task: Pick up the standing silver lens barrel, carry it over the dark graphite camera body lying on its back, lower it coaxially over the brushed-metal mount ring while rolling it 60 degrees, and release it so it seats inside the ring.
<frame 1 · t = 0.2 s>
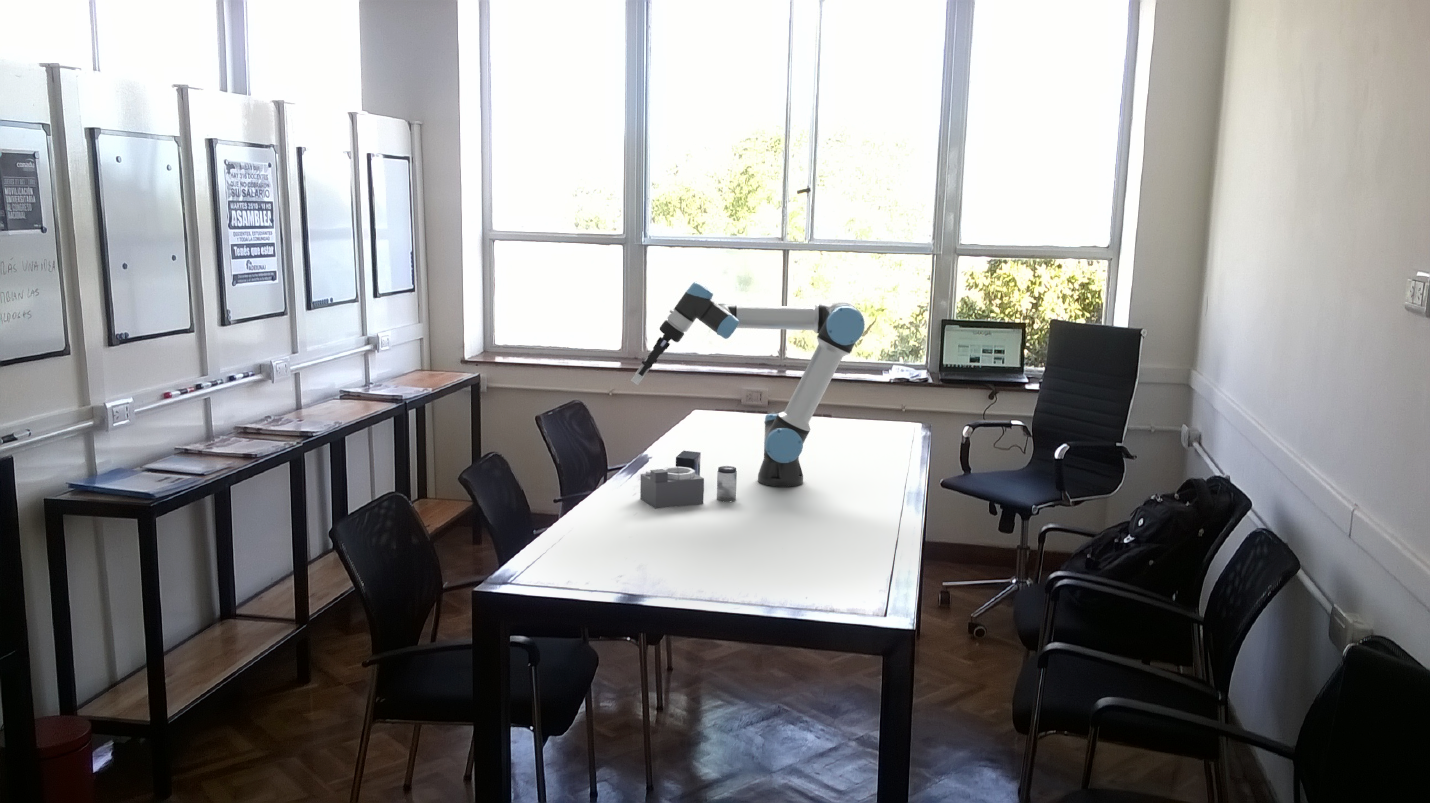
hand: (636, 379, 349), 35 cm above the table, tool tilted 35°, fingers open, 13 cm apart
camera body: (671, 501, 340), on the table
lens: (726, 499, 344), on the table
small box: (687, 485, 360), on the table
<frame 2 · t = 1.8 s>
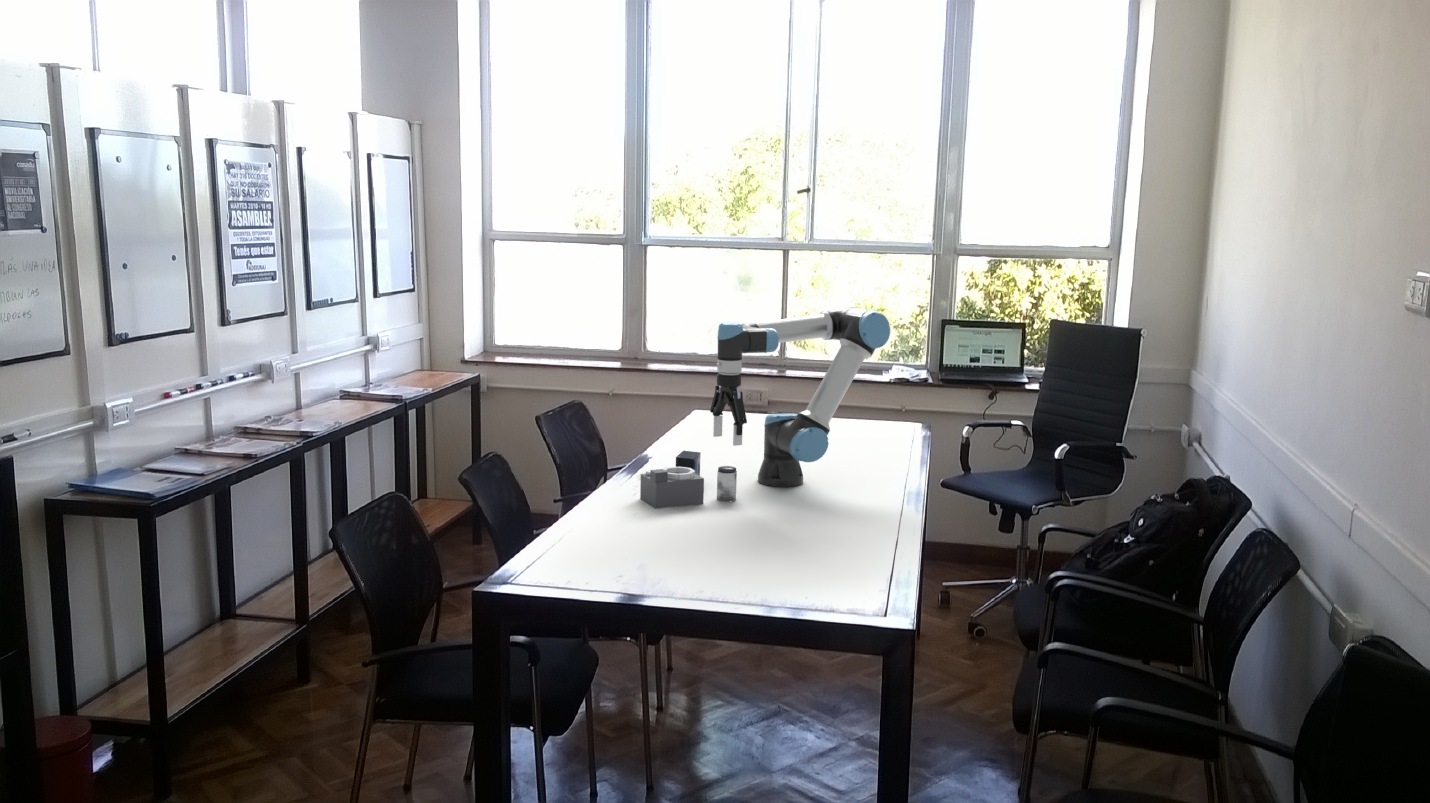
hand: (727, 440, 341), 19 cm above the table, tool pointing down, fingers open, 13 cm apart
nothing on the table moved.
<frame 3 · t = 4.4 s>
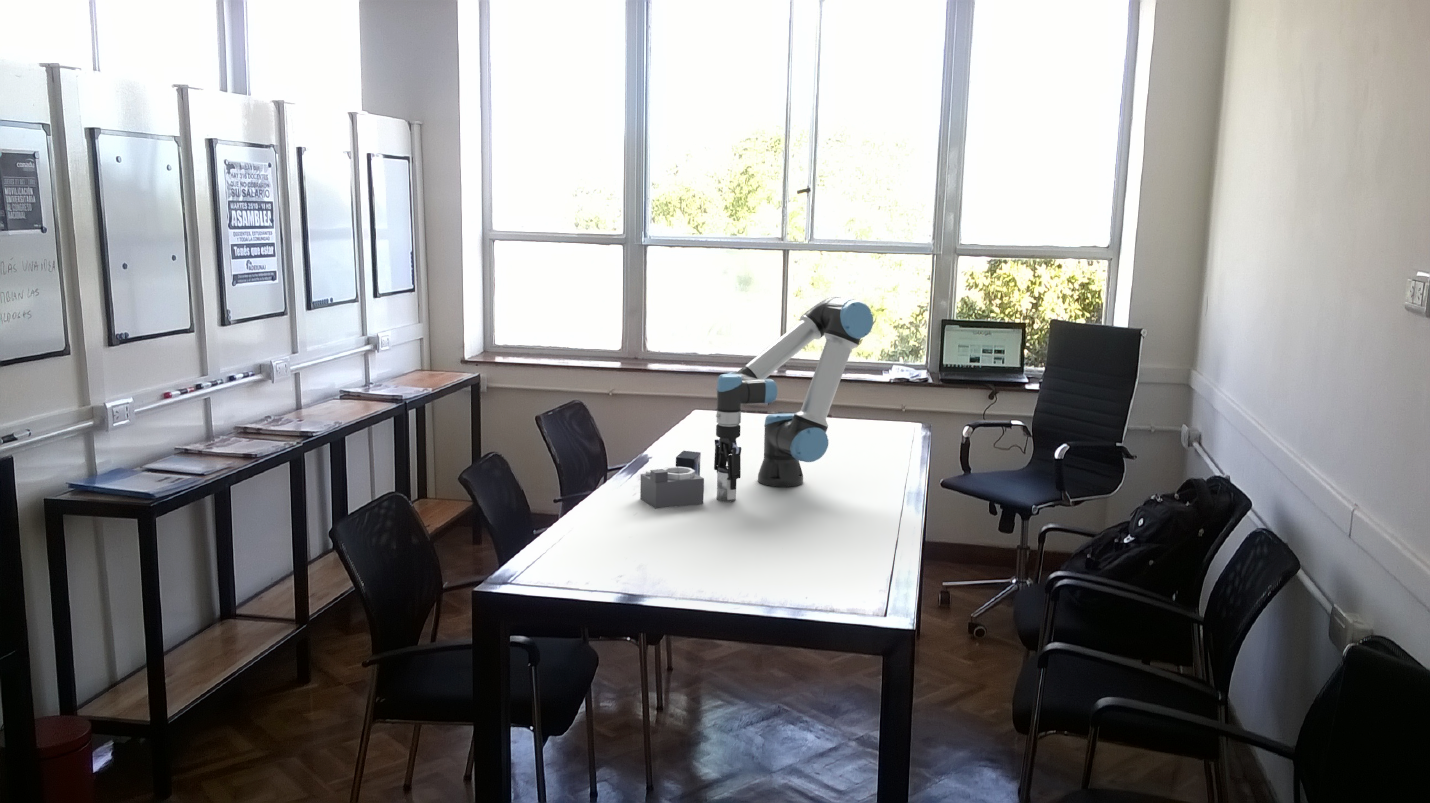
hand: (726, 496, 344), 1 cm above the table, tool pointing down, fingers closed on lens, 6 cm apart
lens: (726, 499, 344), on the table, touching gripper
everything else where it was.
when the fingers open (11 cm above the table, at t = 9.1 s): lens drops 2 cm, resting on camera body.
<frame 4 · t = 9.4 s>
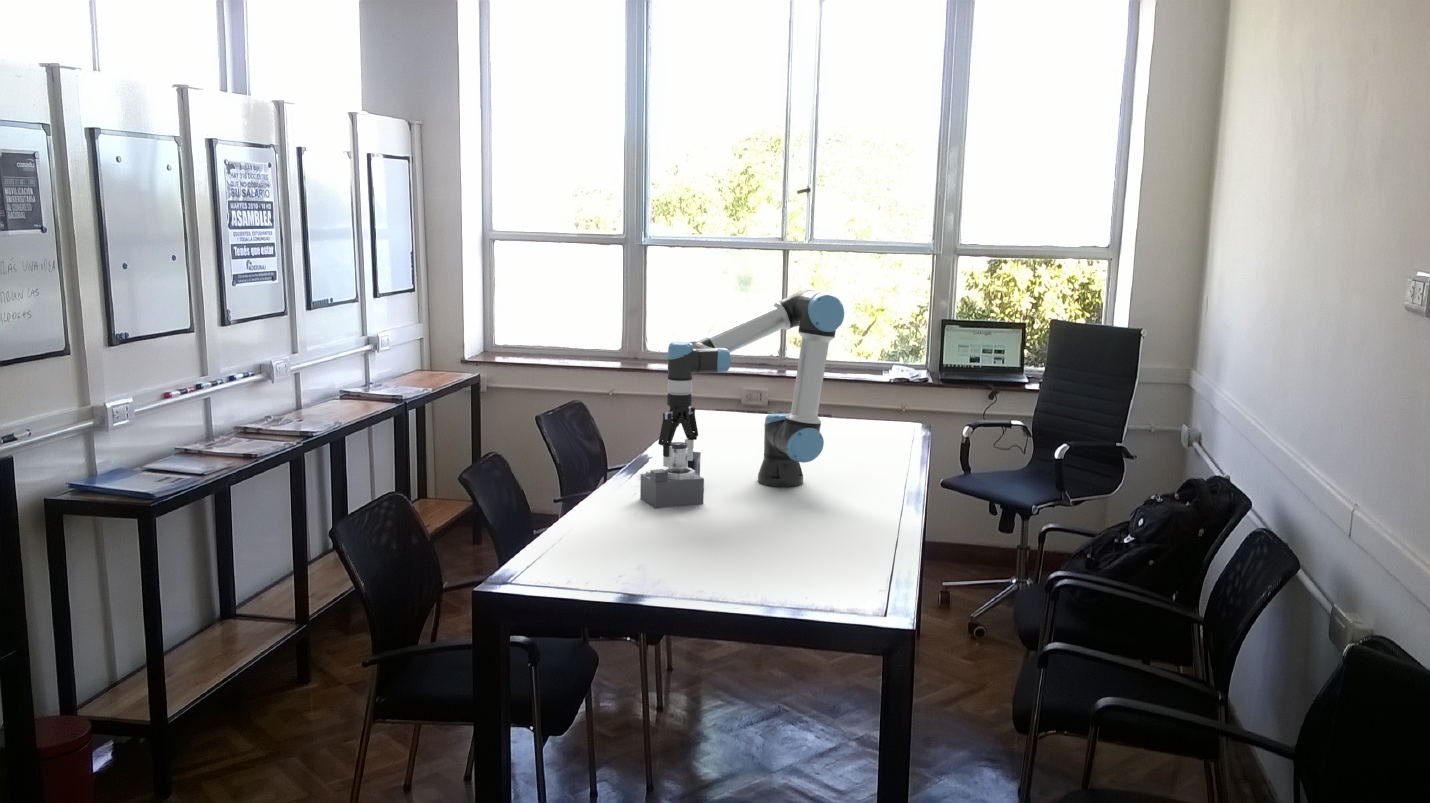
hand: (678, 463, 339), 12 cm above the table, tool pointing down, fingers open, 10 cm apart
lens: (677, 475, 339), point 8 cm above the table, touching camera body
everything else where it was.
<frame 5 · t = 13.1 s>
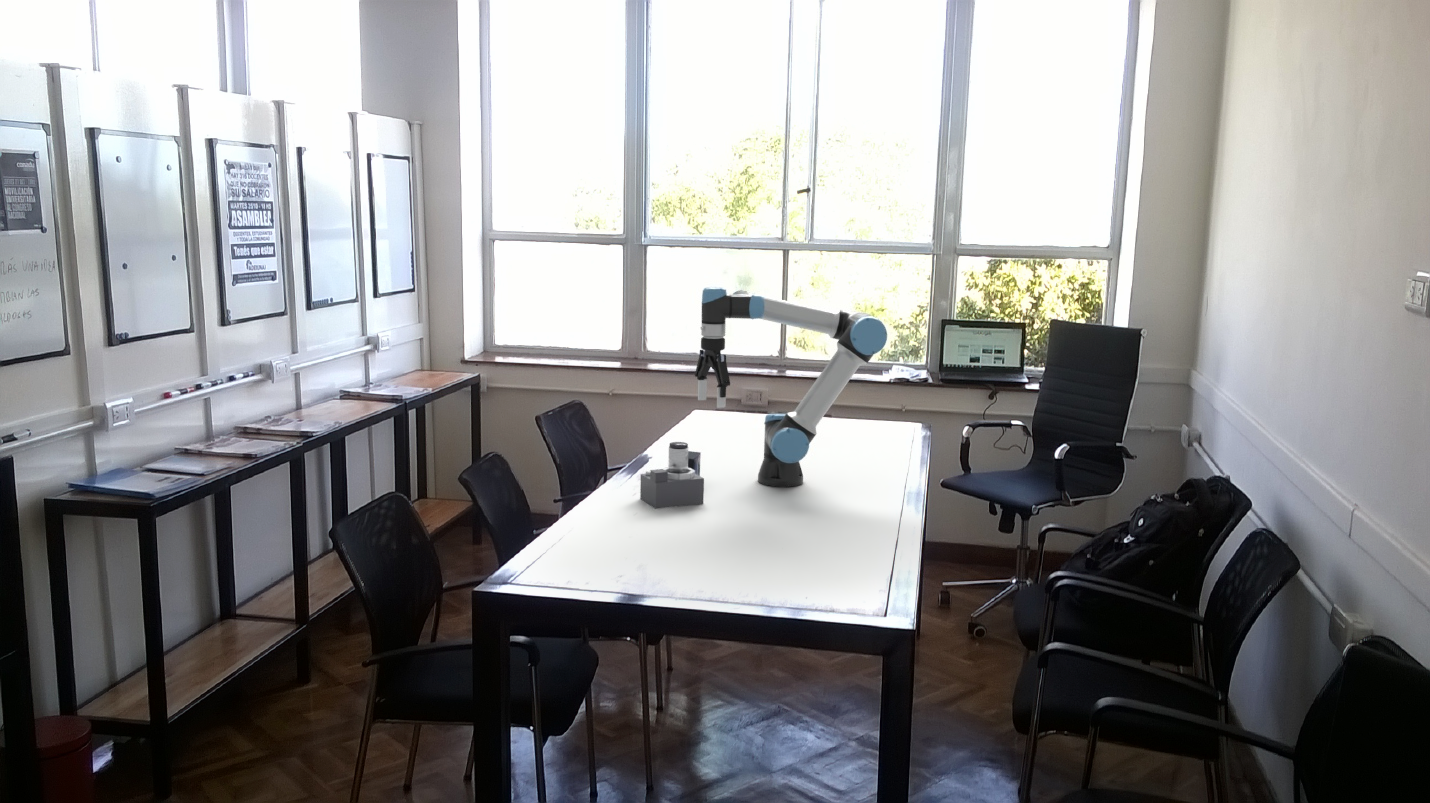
hand: (711, 403, 347), 29 cm above the table, tool pointing down, fingers open, 13 cm apart
nothing on the table moved.
at the end: lens 0.0 cm from the target spot on the camera body, point 8.0 cm above the camera body's base; lens tilted 1°; the gripper is holding nothing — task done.
